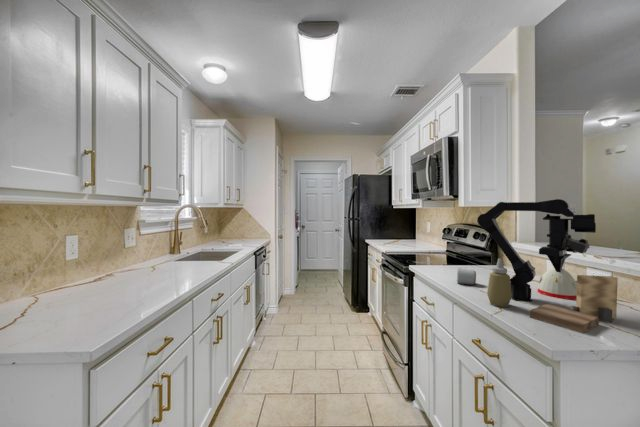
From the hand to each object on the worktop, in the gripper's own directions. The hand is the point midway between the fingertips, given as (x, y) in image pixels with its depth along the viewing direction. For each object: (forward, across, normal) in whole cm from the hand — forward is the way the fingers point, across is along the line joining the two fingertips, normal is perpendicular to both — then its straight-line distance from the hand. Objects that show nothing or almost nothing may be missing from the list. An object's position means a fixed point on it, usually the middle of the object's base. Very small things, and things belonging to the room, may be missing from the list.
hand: (558, 272), depth 108 cm
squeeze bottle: (+13, -19, +12) cm, 26 cm away
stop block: (+14, -4, -14) cm, 20 cm away
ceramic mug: (+12, 0, +38) cm, 40 cm away
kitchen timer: (+13, +18, +6) cm, 24 cm away
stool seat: (+13, -17, -7) cm, 22 cm away
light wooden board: (+13, -4, -10) cm, 17 cm away
